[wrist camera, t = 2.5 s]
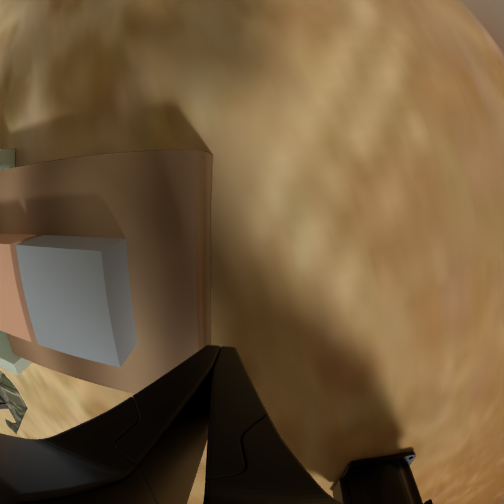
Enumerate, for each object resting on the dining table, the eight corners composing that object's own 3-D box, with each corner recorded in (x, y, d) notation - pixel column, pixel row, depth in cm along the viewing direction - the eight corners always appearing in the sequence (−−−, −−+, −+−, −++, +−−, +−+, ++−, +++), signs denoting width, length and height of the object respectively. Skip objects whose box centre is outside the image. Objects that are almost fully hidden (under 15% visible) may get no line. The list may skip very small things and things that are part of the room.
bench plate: (212, 154, 13) (197, 149, 10) (212, 371, 16) (202, 405, 13) (12, 171, 14) (-19, 174, 11) (36, 334, 17) (13, 354, 14)
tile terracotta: (36, 234, 11) (9, 244, 9) (52, 325, 13) (31, 342, 11) (-13, 232, 12) (-36, 240, 10) (2, 310, 13) (-17, 322, 11)
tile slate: (126, 238, 11) (101, 251, 9) (137, 343, 12) (120, 367, 11) (42, 235, 11) (15, 244, 9) (58, 326, 13) (37, 344, 11)
